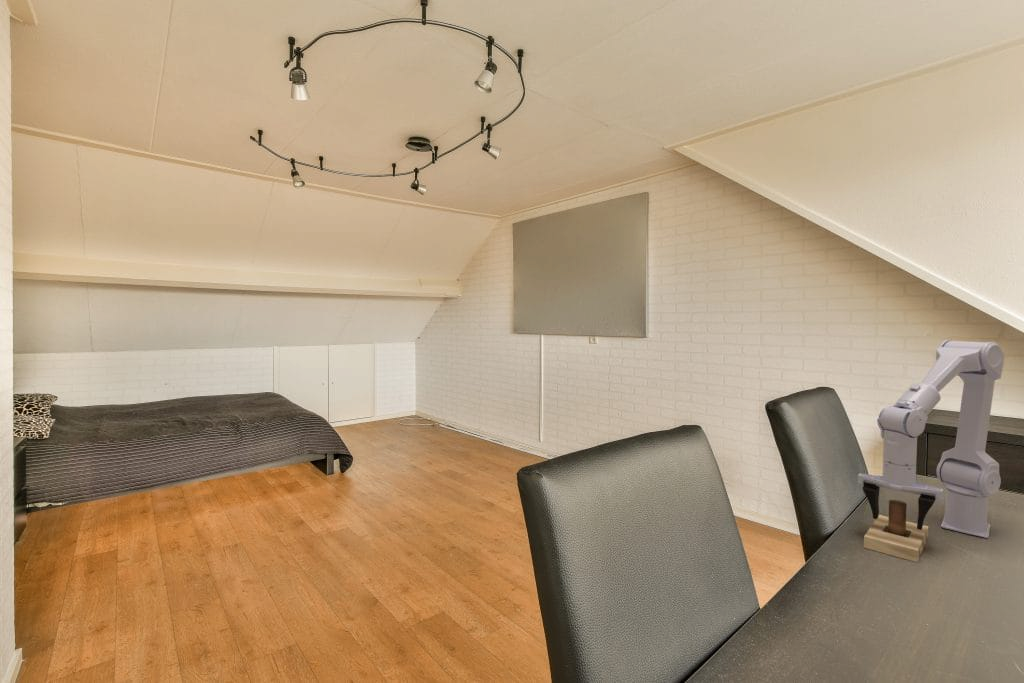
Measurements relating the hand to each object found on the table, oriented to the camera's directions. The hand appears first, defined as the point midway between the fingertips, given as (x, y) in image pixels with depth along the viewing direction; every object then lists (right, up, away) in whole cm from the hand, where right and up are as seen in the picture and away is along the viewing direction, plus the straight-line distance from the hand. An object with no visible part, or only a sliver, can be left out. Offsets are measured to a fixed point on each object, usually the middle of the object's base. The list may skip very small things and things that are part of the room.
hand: (897, 522), depth 107 cm
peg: (0, -4, 0) cm, 4 cm away
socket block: (0, -4, 0) cm, 4 cm away
